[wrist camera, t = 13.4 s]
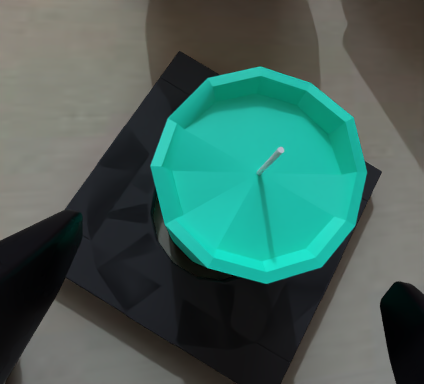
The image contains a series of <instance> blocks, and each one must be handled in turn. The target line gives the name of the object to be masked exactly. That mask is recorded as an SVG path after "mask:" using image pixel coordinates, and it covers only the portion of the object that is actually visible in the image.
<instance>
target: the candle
mask: <svg viewBox="0 0 424 384" xmlns="http://www.w3.org/2000/svg"><path fill="white" fill-rule="evenodd" d="M150 167H151V171H152V175H153V179H154V183H155V187H156V191H157V195H158V199H159V203H160V207H161V211H162V215H163V219H164V224H165V226H166V228H167V230H168V232H169V234H170V237H171V239H172V241H173V242H174V243H175V244H176V245H177V246H178V247H179V248H180V249H181V250H182V251H183V253H184V254H185V255H186V256H187V257H188V258H189V259H190V260H191V261H192V262H195V263H197V264H199V265H202V266H204V267H206V268H209V269H213V270H217V271H220V272H224V273H228V274H231V275H235V276H239V277H242V278H246V279H250V280H254V281H257V282H261V283H265V284H268V283H271V282H275V281H278V280H281V279H285V278H288V277H291V276H295V275H298V274H301V273H305V272H308V271H311V270H314V269H318V268H321V267H322V266H323V265H324V264H325V263H326V262H327V260H328V259H329V258H330V257H331V255H332V254H333V253H334V252H335V250H336V249H337V248H338V247H339V245H340V244H341V243H342V242H343V241H344V239H345V238H346V237H347V236H348V234H349V233H350V232H351V231H352V229H353V228H354V227H355V225H356V221H357V216H358V211H359V207H360V202H361V198H362V193H363V189H364V184H365V180H366V175H367V169H366V165H365V161H364V157H363V153H362V149H361V145H360V141H359V137H358V133H357V129H356V125H355V121H354V117H352V116H351V115H350V114H349V113H347V112H346V111H345V110H344V109H343V108H341V107H340V106H339V105H338V104H336V103H335V102H334V101H333V100H331V99H330V98H329V97H328V96H327V95H325V94H324V93H323V92H322V91H320V90H319V89H318V88H317V87H315V86H314V85H313V84H312V83H310V82H307V81H304V80H300V79H297V78H294V77H291V76H288V75H285V74H282V73H279V72H276V71H273V70H270V69H267V68H264V67H261V66H260V67H255V68H251V69H246V70H242V71H237V72H233V73H228V74H224V75H219V76H215V77H210V78H207V79H206V80H205V81H204V82H203V83H202V84H201V85H200V86H199V87H198V88H197V89H196V90H195V91H194V92H193V93H192V94H191V95H190V96H189V97H188V98H187V99H186V100H185V101H184V102H183V103H182V104H181V105H180V106H179V107H178V108H177V109H176V110H175V111H174V112H173V113H172V114H171V115H170V116H169V117H168V119H167V122H166V124H165V127H164V130H163V133H162V135H161V138H160V141H159V144H158V146H157V149H156V152H155V155H154V157H153V160H152V163H151V165H150Z"/></svg>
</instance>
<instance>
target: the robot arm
mask: <svg viewBox="0 0 424 384" xmlns="http://www.w3.org/2000/svg"><path fill="white" fill-rule="evenodd" d="M82 237H83V216H82V213H81V212H78V211H74V210H69V209H66V210H63V211H61V212H59V213H57V214H55V215H53V216H51V217H49V218H47V219H44V220H42V221H40V222H38V223H36V224H34V225H32V226H30V227H28V228H26V229H24V230H22V231H19V232H17V233H15V234H13V235H11V236H9V237H7V238H5V239H3V240H1V241H0V384H4V383H5V381H6V379H7V378H8V376H9V374H10V373H11V371H12V369H13V368H14V366H15V364H16V363H17V361H18V359H19V358H20V356H21V354H22V353H23V351H24V349H25V348H26V346H27V344H28V343H29V341H30V339H31V337H32V336H33V334H34V332H35V331H36V329H37V327H38V326H39V324H40V322H41V321H42V319H43V317H44V316H45V314H46V312H47V311H48V309H49V307H50V306H51V304H52V302H53V301H54V299H55V297H56V295H57V294H58V292H59V290H60V288H61V286H62V284H63V281H64V279H65V277H66V275H67V273H68V270H69V268H70V266H71V264H72V262H73V259H74V257H75V255H76V253H77V250H78V248H79V246H80V244H81V241H82ZM380 310H381V315H382V321H383V326H384V332H385V338H386V343H387V349H388V354H389V359H390V363H391V366H392V370H393V374H394V377H395V381H396V384H424V294H423V293H422V292H420V291H419V290H418V289H417V288H416V287H415V286H413V285H412V284H409V283H404V282H399V281H398V282H395V283H394V284H393V285H392V286H391V287H390V289H389V290H388V291H387V292H386V294H385V295H384V296H383V298H382V299H381V302H380Z"/></svg>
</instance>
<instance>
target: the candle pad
mask: <svg viewBox="0 0 424 384" xmlns="http://www.w3.org/2000/svg"><path fill="white" fill-rule="evenodd" d="M215 76H219V74H217V73H216V72H214V71H212V70H211V69H209V68H207V67H206V66H204V65H202V64H201V63H199V62H197V61H196V60H194V59H192V58H191V57H189V56H187V55H186V54H184V53H182V52H181V51H179V52H178V53H177V55H176V56H175V58H174V59H173V60H172V62H171V63H170V64H169V66H168V67H167V69H166V70H165V71H164V73H163V74H162V76H161V77H160V78H159V80H158V81H157V82H156V84H155V85H154V87H153V88H152V89H151V91H150V92H149V94H148V95H147V96H146V98H145V99H144V100H143V102H142V103H141V105H140V106H139V107H138V109H137V110H136V112H135V113H134V114H133V116H132V117H131V118H130V120H129V121H128V123H127V124H126V125H125V126H124V128H123V129H122V130H121V132H120V133H119V134H118V136H117V137H116V139H115V140H114V141H113V143H112V144H111V146H110V147H109V148H108V150H107V151H106V152H105V154H104V155H103V157H102V158H101V159H100V161H99V162H98V164H97V165H96V167H95V168H94V170H93V171H92V172H91V174H90V175H89V177H88V178H87V179H86V181H85V182H84V184H83V185H82V186H81V188H80V189H79V190H78V192H77V193H76V195H75V196H74V197H73V199H72V200H71V202H70V203H69V204H68V206H67V207H66V208H65V210H66V209H69V210H74V211H78V212H81V213H82V216H83V237H82V241H81V244H80V246H79V248H78V250H77V253H76V255H75V257H74V259H73V262H72V264H71V266H70V268H69V270H68V273H67V275H66V278H67V279H69V280H71V281H72V282H74V283H76V284H77V285H79V286H80V287H82V288H84V289H85V290H87V291H88V292H90V293H92V294H93V295H95V296H97V297H98V298H100V299H101V300H103V301H105V302H106V303H108V304H110V305H111V306H113V307H114V308H116V309H118V310H119V311H121V312H122V313H124V314H126V316H128V317H129V318H131V319H132V320H134V321H136V322H137V323H139V324H141V325H142V326H144V327H145V328H147V329H149V330H150V331H152V332H153V333H155V334H157V335H158V336H160V337H162V338H163V339H165V340H166V341H168V342H170V343H171V344H174V345H176V346H178V347H179V348H181V349H182V350H184V351H186V352H187V353H189V354H191V355H192V356H194V357H195V358H197V359H199V360H200V361H202V362H203V363H205V364H207V365H208V366H210V367H212V368H213V369H215V370H216V371H218V372H220V373H221V374H223V375H225V376H226V377H228V378H229V379H231V380H233V381H234V382H236V383H237V384H281V381H282V379H283V377H284V375H285V373H286V371H287V369H288V367H289V365H290V362H291V361H292V359H293V357H294V355H295V352H296V350H297V348H298V346H299V344H300V342H301V340H302V338H303V336H304V334H305V332H306V329H307V327H308V325H309V323H310V321H311V319H312V317H313V315H314V313H315V311H316V309H317V306H318V304H319V302H320V301H321V299H322V297H323V295H324V293H325V291H326V289H327V287H328V285H329V283H330V281H331V278H332V276H333V274H334V272H335V270H336V268H337V266H338V264H339V262H340V260H341V258H342V255H343V252H344V250H345V248H346V246H347V244H348V242H349V240H350V238H351V235H352V233H353V231H354V229H355V227H356V225H357V223H358V221H359V219H360V217H361V215H362V212H363V210H364V208H365V206H366V204H367V202H368V200H369V198H370V196H371V194H372V192H373V189H374V187H375V185H376V183H377V181H378V179H379V177H380V175H381V173H382V171H380V170H378V169H377V168H375V167H373V166H372V165H370V164H368V163H367V162H365V165H366V169H367V175H366V180H365V184H364V189H363V193H362V198H361V202H360V207H359V211H358V216H357V221H356V225H355V227H354V228H353V229H352V231H351V232H350V233H349V234H348V236H347V237H346V238H345V239H344V241H343V242H342V243H341V244H340V245H339V247H338V248H337V249H336V250H335V252H334V253H333V254H332V255H331V257H330V258H329V259H328V260H327V262H326V263H325V264H324V265H323V266H322V267H321V268H318V269H314V270H311V271H308V272H305V273H301V274H298V275H295V276H291V277H288V278H285V279H281V280H278V281H275V282H271V283H268V284H265V283H261V282H257V281H254V280H250V279H246V278H242V277H239V276H235V277H231V278H228V279H224V280H217V279H210V278H203V277H196V276H194V275H193V274H191V273H189V272H188V271H186V270H184V269H183V268H181V267H179V266H178V265H176V264H175V263H173V262H172V260H171V259H170V257H169V256H168V255H167V253H166V252H165V250H164V249H163V248H162V246H161V245H160V243H159V242H158V238H157V234H156V229H155V225H154V220H153V212H154V207H155V201H156V196H157V191H156V187H155V183H154V179H153V175H152V171H151V167H150V165H151V163H152V160H153V157H154V155H155V152H156V149H157V146H158V144H159V141H160V138H161V135H162V133H163V130H164V127H165V124H166V122H167V119H168V117H169V116H170V115H171V114H172V113H173V112H174V111H175V110H176V109H177V108H178V107H179V106H180V105H181V104H182V103H183V102H184V101H185V100H186V99H187V98H188V97H189V96H190V95H191V94H192V93H193V92H194V91H195V90H196V89H197V88H198V87H199V86H200V85H201V84H202V83H203V82H204V81H205V80H206V79H207V78H210V77H215Z"/></svg>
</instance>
